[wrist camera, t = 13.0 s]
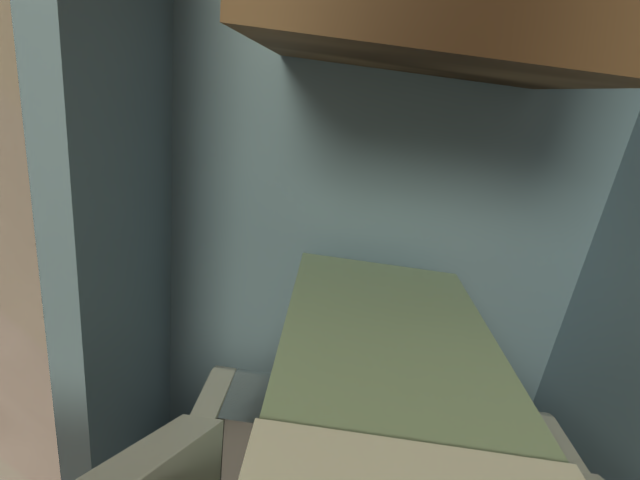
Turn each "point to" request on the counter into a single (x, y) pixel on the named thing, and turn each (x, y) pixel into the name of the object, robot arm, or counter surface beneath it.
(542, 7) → the walnut block
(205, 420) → the robot arm
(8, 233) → the counter surface
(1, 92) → the counter surface
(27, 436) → the counter surface
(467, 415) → the carton
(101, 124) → the tote
